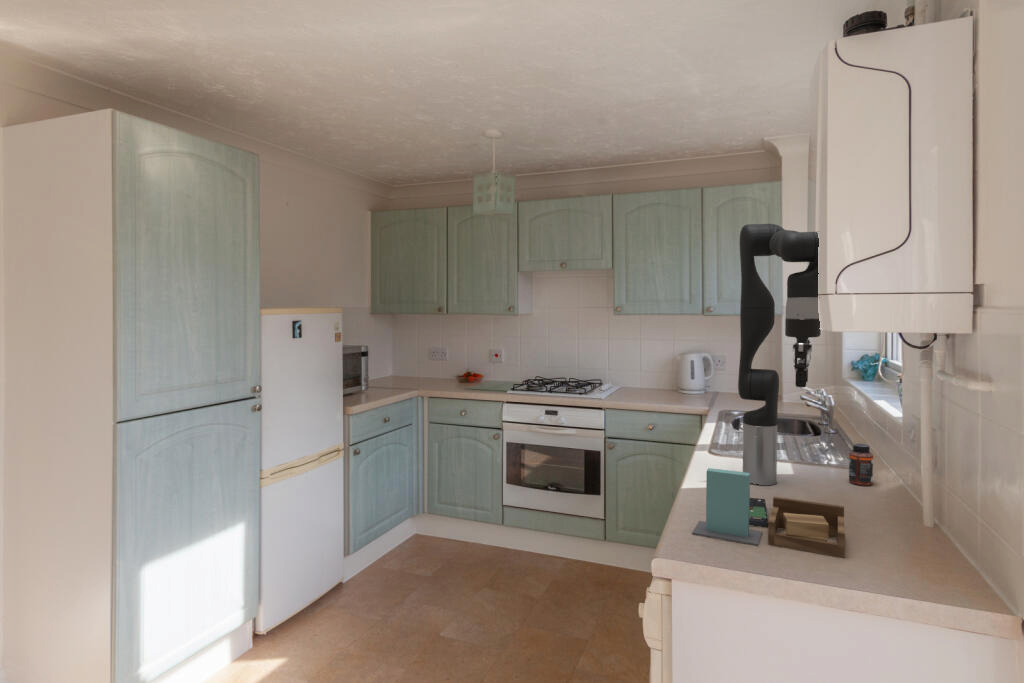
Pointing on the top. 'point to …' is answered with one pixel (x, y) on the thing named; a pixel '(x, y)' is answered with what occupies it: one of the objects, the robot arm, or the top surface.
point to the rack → (828, 511)
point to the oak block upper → (805, 525)
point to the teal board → (728, 502)
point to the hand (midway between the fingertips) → (801, 384)
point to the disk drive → (758, 512)
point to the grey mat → (728, 535)
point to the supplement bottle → (861, 465)
